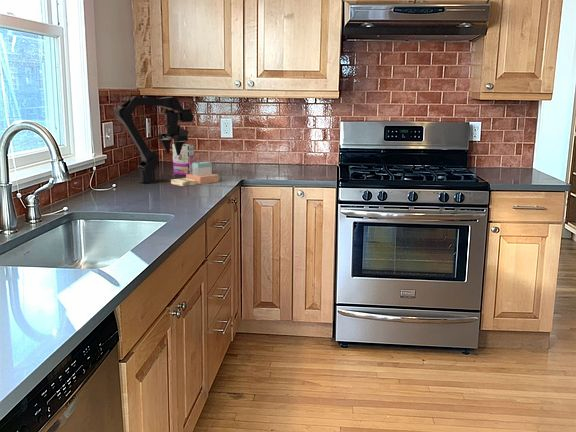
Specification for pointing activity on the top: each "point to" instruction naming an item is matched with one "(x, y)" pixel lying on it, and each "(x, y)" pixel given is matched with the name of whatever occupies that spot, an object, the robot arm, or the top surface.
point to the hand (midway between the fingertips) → (173, 154)
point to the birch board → (183, 182)
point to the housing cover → (201, 164)
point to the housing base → (202, 171)
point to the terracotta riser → (203, 178)
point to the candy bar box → (183, 160)
